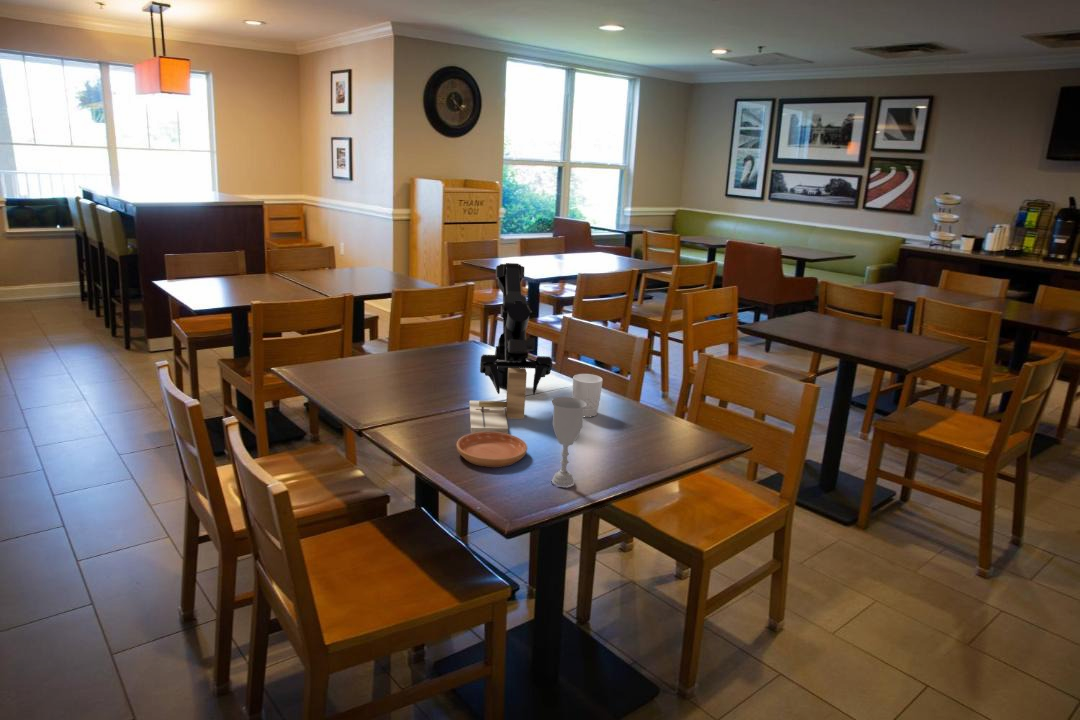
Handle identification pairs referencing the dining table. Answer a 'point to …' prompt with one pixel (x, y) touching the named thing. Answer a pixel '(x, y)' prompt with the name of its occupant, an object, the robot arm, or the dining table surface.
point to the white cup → (588, 392)
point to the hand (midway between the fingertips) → (516, 393)
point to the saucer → (491, 448)
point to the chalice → (566, 431)
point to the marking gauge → (512, 394)
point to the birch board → (487, 418)
